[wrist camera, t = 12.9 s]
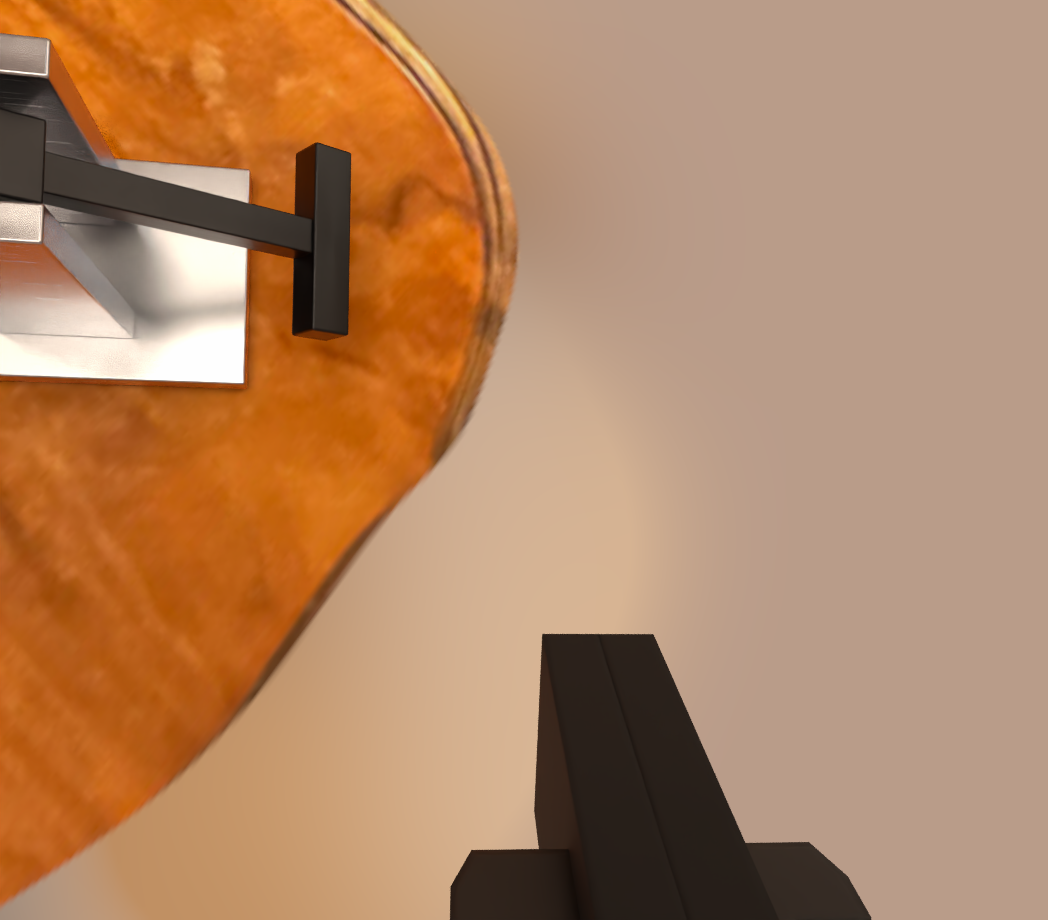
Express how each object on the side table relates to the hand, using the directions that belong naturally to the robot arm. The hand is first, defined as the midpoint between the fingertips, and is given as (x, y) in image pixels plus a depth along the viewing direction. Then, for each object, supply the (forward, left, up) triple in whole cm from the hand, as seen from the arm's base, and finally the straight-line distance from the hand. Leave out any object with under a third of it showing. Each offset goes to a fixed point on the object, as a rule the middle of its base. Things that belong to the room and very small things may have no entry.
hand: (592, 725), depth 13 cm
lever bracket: (+17, -2, -24) cm, 29 cm away
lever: (+14, -4, -16) cm, 22 cm away
